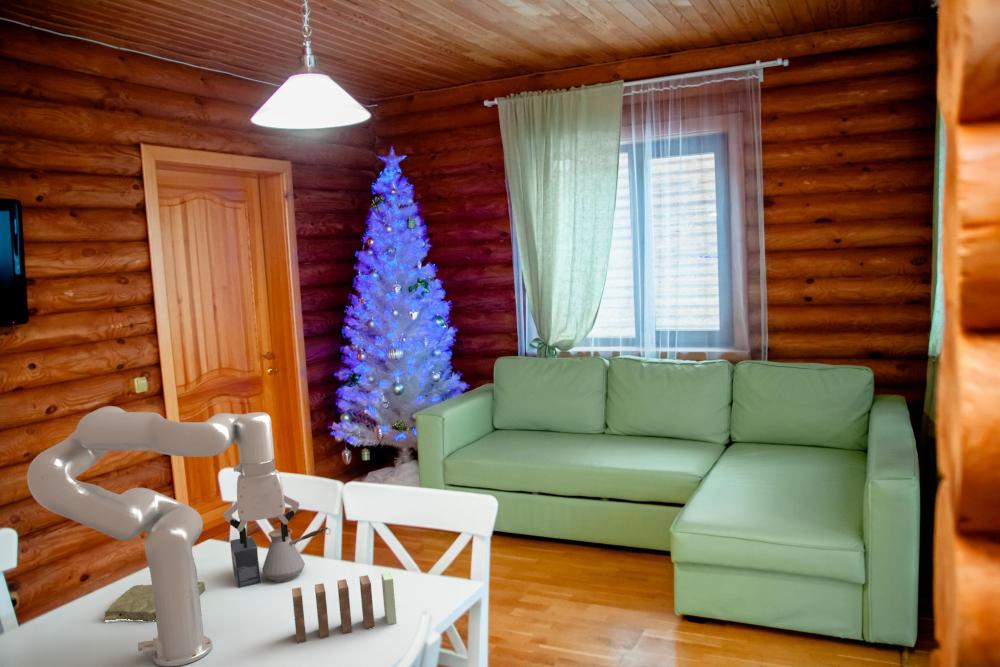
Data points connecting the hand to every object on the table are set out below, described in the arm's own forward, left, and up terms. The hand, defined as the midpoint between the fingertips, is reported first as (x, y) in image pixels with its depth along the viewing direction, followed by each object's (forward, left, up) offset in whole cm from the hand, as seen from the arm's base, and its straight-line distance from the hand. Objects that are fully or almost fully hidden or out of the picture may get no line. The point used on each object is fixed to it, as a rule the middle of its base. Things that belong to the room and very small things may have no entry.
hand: (264, 542), depth 182 cm
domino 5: (+27, 0, -24) cm, 36 cm away
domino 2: (+11, 0, -24) cm, 26 cm away
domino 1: (+6, 0, -24) cm, 25 cm away
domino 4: (+22, 0, -24) cm, 32 cm away
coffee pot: (+8, +37, -24) cm, 45 cm away
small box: (-6, +43, -24) cm, 50 cm away
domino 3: (+17, 0, -24) cm, 29 cm away
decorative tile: (-29, +35, -25) cm, 52 cm away
